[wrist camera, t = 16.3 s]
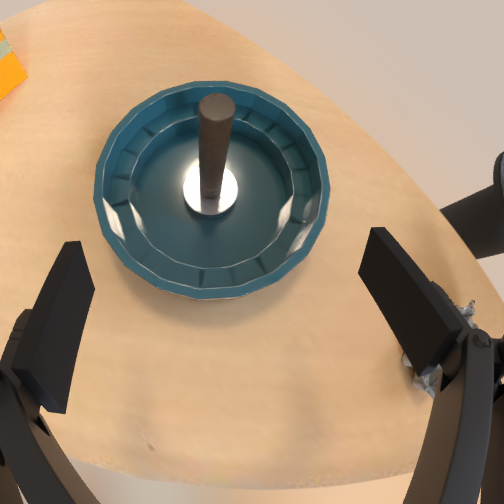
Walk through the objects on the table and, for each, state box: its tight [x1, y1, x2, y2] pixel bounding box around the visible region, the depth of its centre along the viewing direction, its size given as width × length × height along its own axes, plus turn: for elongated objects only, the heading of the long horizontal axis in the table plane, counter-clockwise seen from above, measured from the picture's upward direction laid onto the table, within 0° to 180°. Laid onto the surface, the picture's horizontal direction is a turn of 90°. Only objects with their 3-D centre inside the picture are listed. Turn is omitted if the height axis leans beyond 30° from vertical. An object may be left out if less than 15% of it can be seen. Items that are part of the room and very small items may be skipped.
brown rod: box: [183, 93, 238, 219], centre depth 22 cm, size 5×5×14 cm
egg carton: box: [402, 300, 478, 399], centre depth 29 cm, size 11×8×4 cm
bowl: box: [93, 81, 330, 301], centre depth 27 cm, size 20×20×6 cm
